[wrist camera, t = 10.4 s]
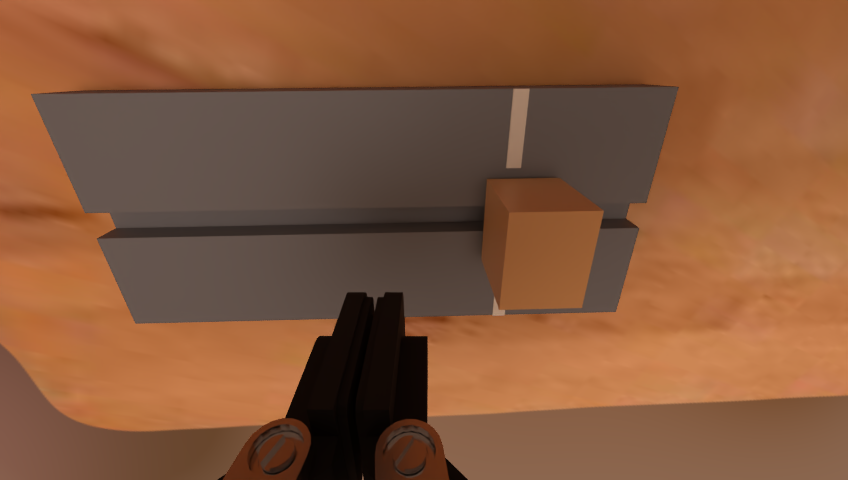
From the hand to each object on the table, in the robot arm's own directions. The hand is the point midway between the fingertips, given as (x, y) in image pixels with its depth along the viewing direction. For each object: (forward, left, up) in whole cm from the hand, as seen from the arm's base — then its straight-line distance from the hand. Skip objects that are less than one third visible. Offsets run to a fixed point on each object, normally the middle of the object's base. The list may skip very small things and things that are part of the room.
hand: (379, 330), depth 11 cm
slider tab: (-7, +1, -12) cm, 14 cm away
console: (+1, +1, -14) cm, 14 cm away
